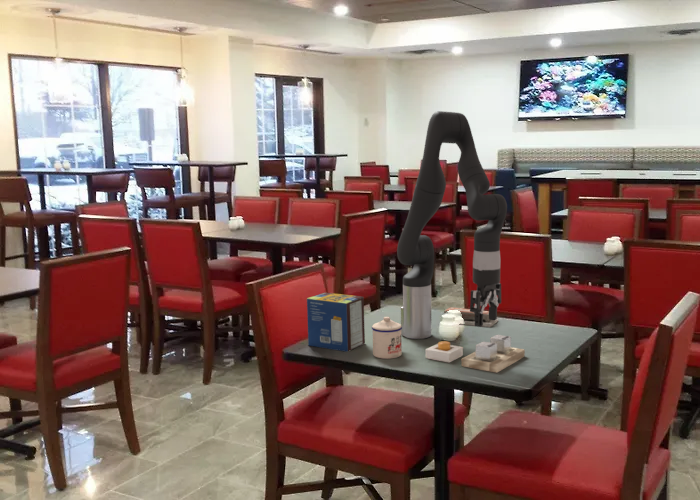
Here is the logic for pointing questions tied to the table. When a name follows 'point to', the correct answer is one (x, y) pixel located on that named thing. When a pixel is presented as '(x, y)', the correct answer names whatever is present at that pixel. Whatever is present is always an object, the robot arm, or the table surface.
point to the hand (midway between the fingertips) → (485, 323)
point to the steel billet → (486, 352)
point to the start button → (444, 345)
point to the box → (444, 353)
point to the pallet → (498, 364)
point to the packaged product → (470, 317)
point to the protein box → (336, 321)
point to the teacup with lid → (387, 339)
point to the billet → (502, 343)
